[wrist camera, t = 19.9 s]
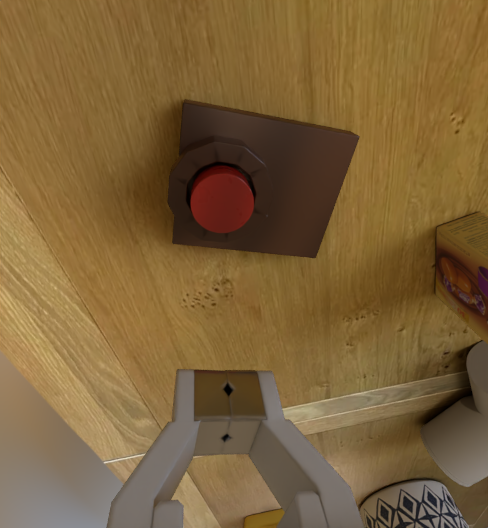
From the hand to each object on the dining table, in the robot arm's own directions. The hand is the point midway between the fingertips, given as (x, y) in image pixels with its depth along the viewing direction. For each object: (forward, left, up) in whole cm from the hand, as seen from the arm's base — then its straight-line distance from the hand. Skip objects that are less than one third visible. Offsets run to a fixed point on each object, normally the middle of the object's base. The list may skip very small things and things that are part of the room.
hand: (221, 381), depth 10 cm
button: (+1, +1, -14) cm, 14 cm away
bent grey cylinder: (+40, -24, -17) cm, 50 cm away
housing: (+4, +1, -17) cm, 18 cm away
